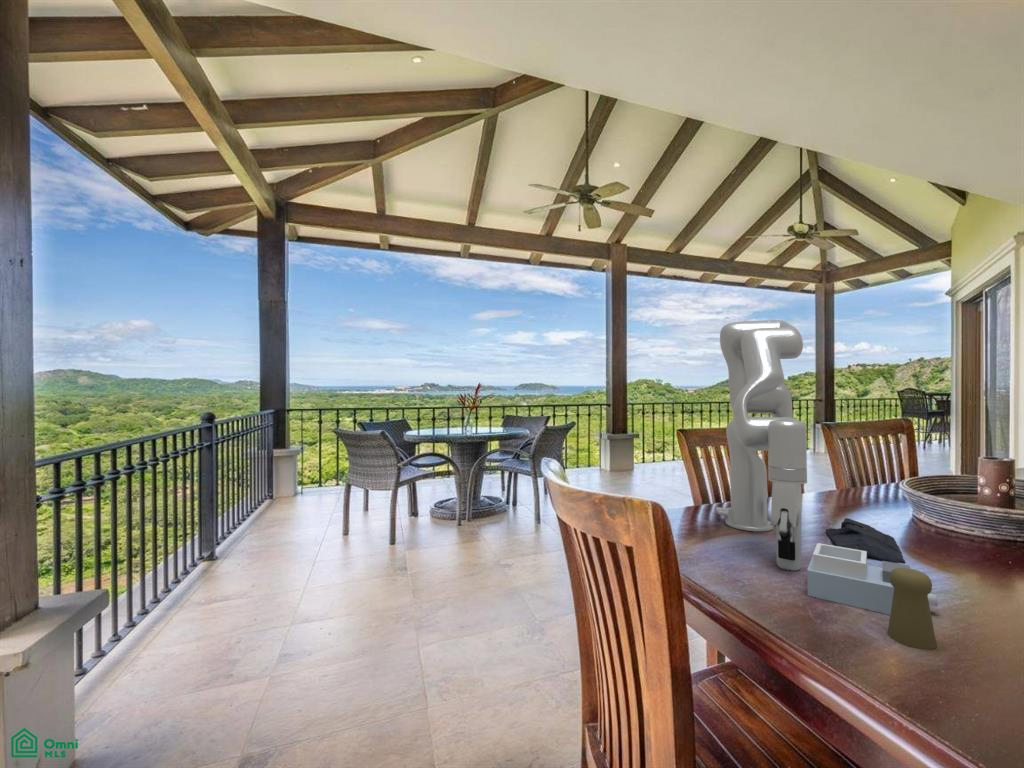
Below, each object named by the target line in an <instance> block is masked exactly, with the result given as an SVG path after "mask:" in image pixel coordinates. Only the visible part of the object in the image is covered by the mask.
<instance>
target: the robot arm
mask: <svg viewBox="0 0 1024 768" xmlns="http://www.w3.org/2000/svg"><path fill="white" fill-rule="evenodd" d="M719 344H720V349H721V352H722V356H723V357H724V359H725V363H726V365H727V370H728V389H729V402H730V406H731V409H732V414H733V419H732V420H730V421H729V422H728V423H727V425H726V431H725V432H726V440H727V445H728V452H729V465H730V466H729V467H730V469H729V470H730V471H729V474H730V475H729V477H730V479H729V481H730V507H727V508H725V507H720V506H716V507H715V513H716V514H718V515H720V516H726V518H725V519H724V520H725V521H724V522H725V524H726V526H729V527H730V528H733V529H738V530H741V531H742V530H743V531H748V532H769V531H772V530H774V527H776V525H777V524H778V522H779V539H778V557H779V558H782V559H787V560H792V561H794V560H795V542H793V541H794V529H795V528H797V526H798V522H799V519H801V520H802V507H803V506H802V505H803V504H802V499H803V498H802V497H803V496H802V485H805V484H807V483H808V463H807V462H808V461H807V460H808V458H807V457H808V456H807V452H808V451H807V427H806V424H805V423H804V422H803V421H801V420H797V419H795V418H794V415H793V413H794V412H793V402H792V401H793V400H792V394H791V392H790V389H789V387H788V386H787V384H785V383H784V381H785V375H784V372H783V371H784V370H783V367H782V362H781V361H782V360H790V359H791V360H792V359H793V360H794V359H797V358H798V357H800V356H801V354H802V352H803V348H804V343H803V337H802V335H801V333H800V331H799V330H798V328H796V327H795V326H793V325H792V324H790V323H788V322H786V321H784V320H781V319H774V320H773V319H767V320H743V321H734V322H729V323H727V324H724V325H723V327H722V328H721V329H720V333H719ZM748 414H769V415H771V416H749V415H748ZM762 451H764V452H766V451H767V459H768V460H767V462H768V465H767V466H766V463H765V461H764V460H763V459H762V457H761V456H759V455H758V453H757V452H762ZM767 468H768V474H767ZM767 478H768V479H767ZM768 481H770V482H772V486H771V487H772V488H771V506H770V508H771V509H770V510H771V511H770V512H771V513H770V520H768V487H767V486H768V483H767V482H768ZM788 525H791V528H790V527H787V526H788ZM788 530H790V533H789V532H788Z"/></svg>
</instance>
